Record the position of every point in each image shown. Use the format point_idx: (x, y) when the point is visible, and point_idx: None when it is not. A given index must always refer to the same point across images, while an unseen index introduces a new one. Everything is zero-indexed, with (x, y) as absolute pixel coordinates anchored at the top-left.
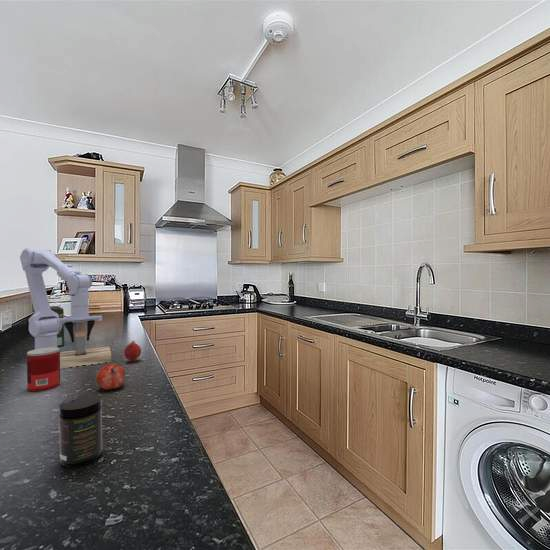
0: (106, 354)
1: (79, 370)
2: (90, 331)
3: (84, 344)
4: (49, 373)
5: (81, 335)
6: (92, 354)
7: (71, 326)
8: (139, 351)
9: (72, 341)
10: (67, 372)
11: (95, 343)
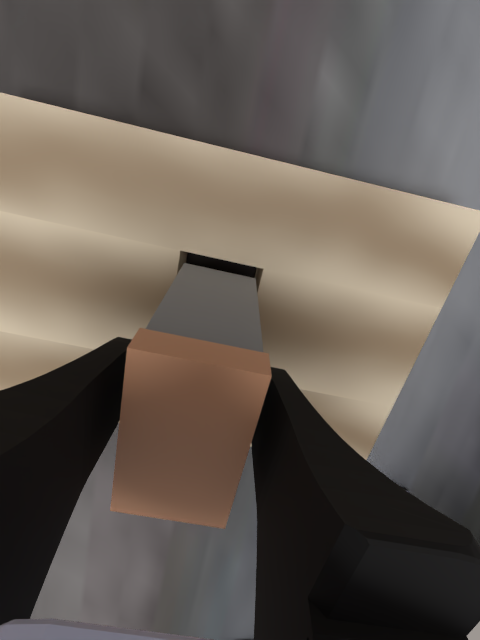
0: (15, 105)
1: (280, 7)
2: (33, 382)
3: (174, 289)
4: None
5: (187, 344)
6: (133, 217)
7: (362, 513)
8: None
9: (282, 371)
10: (367, 22)
11: (84, 613)
